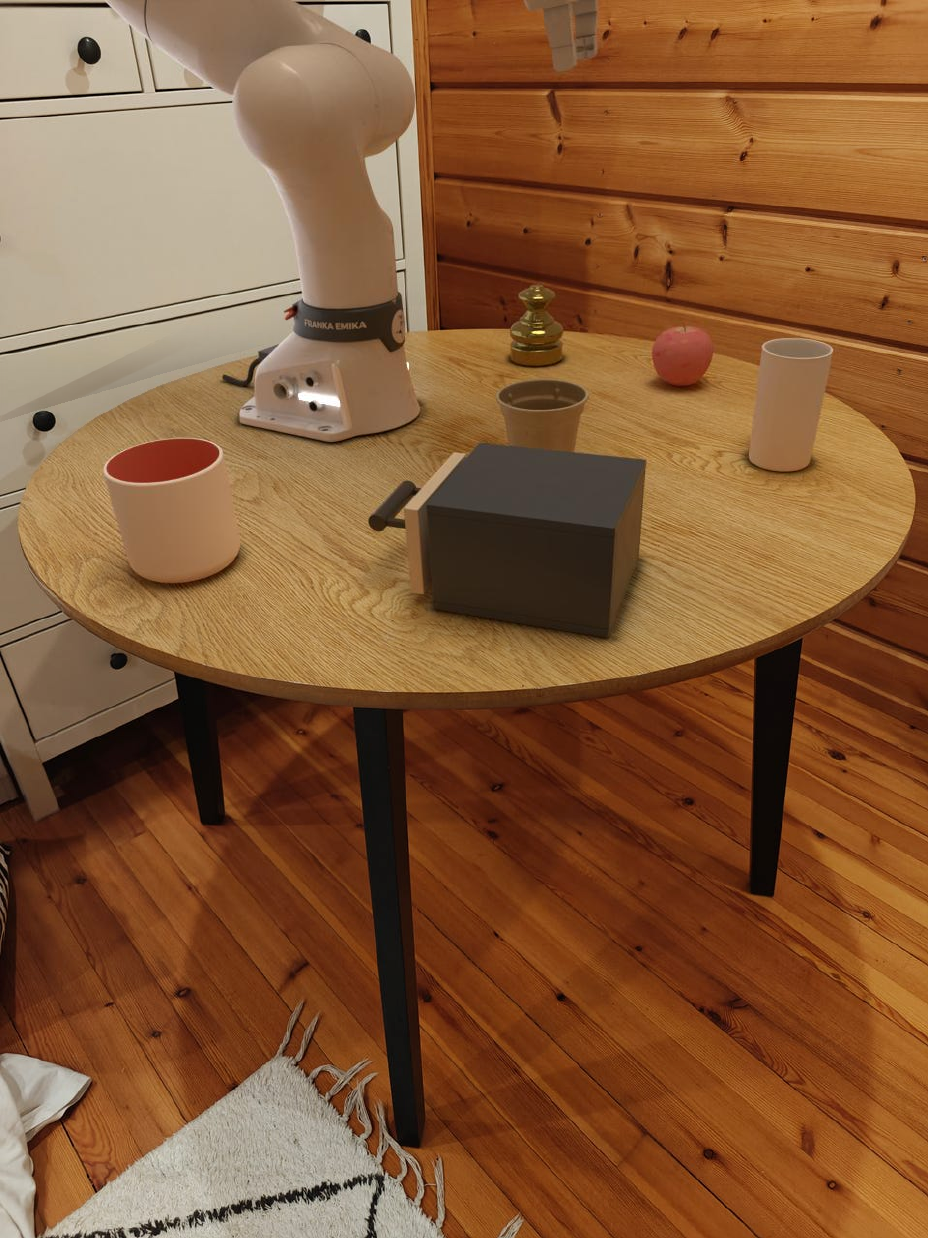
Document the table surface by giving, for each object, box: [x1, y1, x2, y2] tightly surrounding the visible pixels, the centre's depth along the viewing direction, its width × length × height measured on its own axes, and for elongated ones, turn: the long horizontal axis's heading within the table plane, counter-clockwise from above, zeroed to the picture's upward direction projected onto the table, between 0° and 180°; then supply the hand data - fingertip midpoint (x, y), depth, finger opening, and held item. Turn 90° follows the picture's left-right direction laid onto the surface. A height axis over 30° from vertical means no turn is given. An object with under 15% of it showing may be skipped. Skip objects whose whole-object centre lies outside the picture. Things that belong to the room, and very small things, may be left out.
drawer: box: [367, 451, 467, 595], centre depth 76 cm, size 18×11×8 cm, turn 70°
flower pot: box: [495, 378, 590, 452], centre depth 93 cm, size 9×9×9 cm
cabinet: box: [426, 442, 647, 639], centre depth 74 cm, size 15×13×10 cm
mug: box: [748, 337, 834, 473], centre depth 94 cm, size 10×7×12 cm, turn 3°
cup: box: [102, 437, 241, 584], centre depth 80 cm, size 10×10×10 cm
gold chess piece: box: [509, 284, 564, 367], centre depth 125 cm, size 7×7×10 cm
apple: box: [651, 321, 714, 387], centre depth 115 cm, size 7×7×8 cm
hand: (576, 64), depth 80 cm, fingers open, 8 cm apart
